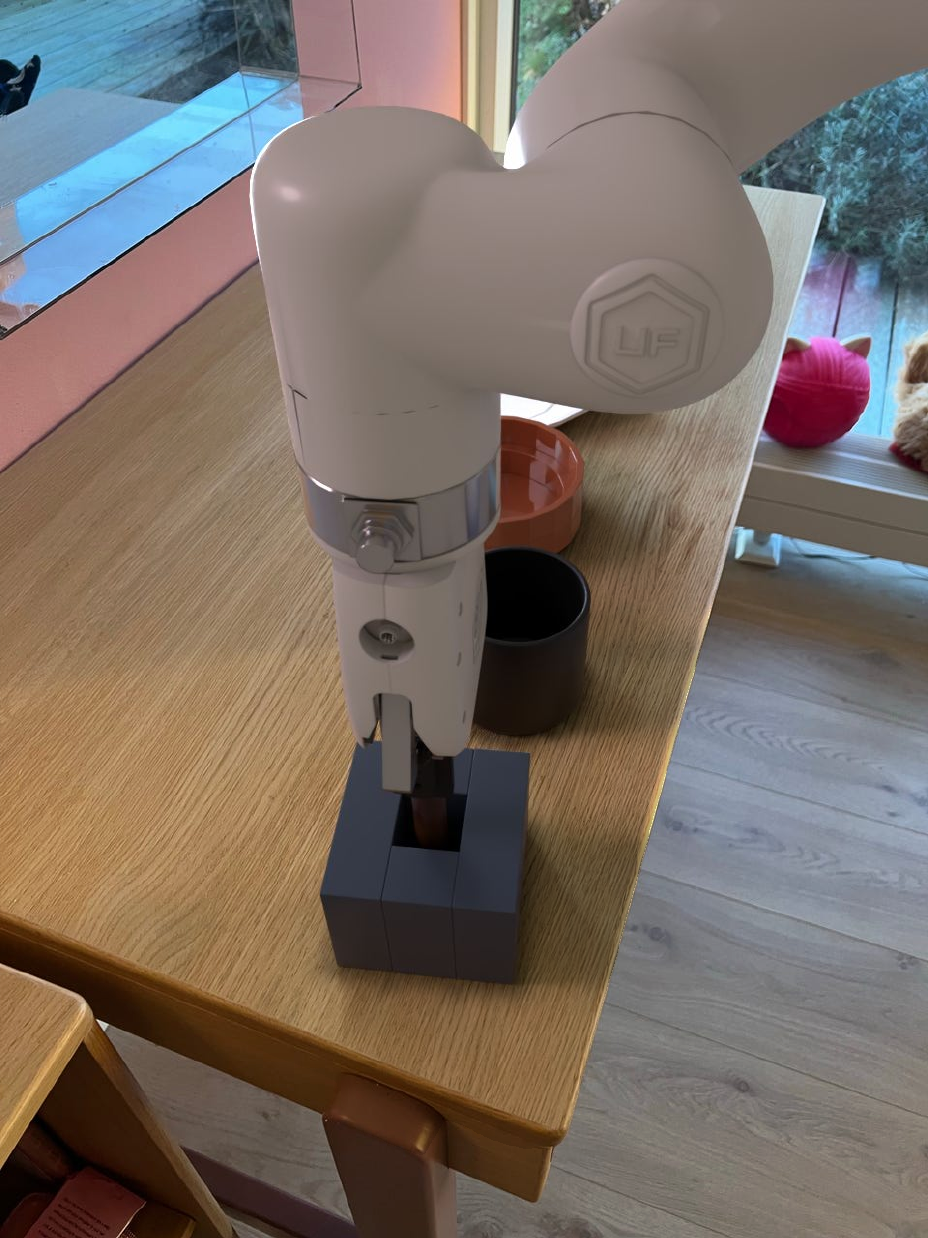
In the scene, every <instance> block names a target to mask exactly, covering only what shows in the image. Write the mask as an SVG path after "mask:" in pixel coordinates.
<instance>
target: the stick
mask: <svg viewBox="0 0 928 1238" xmlns="http://www.w3.org/2000/svg"><path fill="white" fill-rule="evenodd" d="M411 801H412V810H413V819H414V829H415V838H416V847H417V848H419V849H430V850H441V851H449V839H448V824H447V808H446V798H440V797H431V798H427V799H420V798H412V797H411Z"/></svg>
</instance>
